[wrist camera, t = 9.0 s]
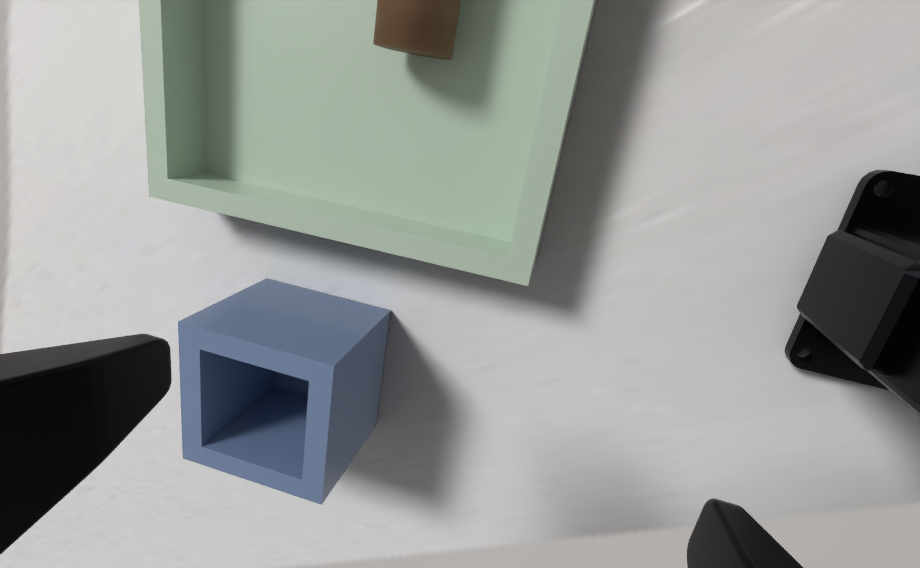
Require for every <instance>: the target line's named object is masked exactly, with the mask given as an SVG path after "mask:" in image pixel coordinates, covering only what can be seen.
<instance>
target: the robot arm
mask: <svg viewBox="0 0 920 568" xmlns="http://www.w3.org/2000/svg"><path fill="white" fill-rule="evenodd" d="M882 180H885V181H886V183H887V188H886V190H885V191H884V192H883V193H882V194H880V195H875V193H874V187H875V186H876V184H877V183H878V182H880V181H882ZM797 308H798V310H799V312H800V315H799V318H798V320H797V322H796V324H795V327H794V329H793V331H792V333H791V336H790V338H789V340H788V342H787V345H786V347H785V354H786V357H787V358H788V359H789V360H790V362H791V363H792V364H793V365H794V366H796V367H798V368H800V369H804V370H808V371H812V372H816V373H821V374H825V375H829V376H833V377H837V378H841V379H845V380H849V381H854V382H858V383H862V384H866V385H870V386H874V387H878V388H882V389H886V390H890V391H891V392H892V393H893V394H894V395H896V396H897V397H898V398H899V399H900V400H901V401H902V402H904V403H905V404H906V405H907V406H908V407H909V408H911V409H912V410H913V411H914V412H915V413H916V414H917V415H919V416H920V176H917V175H911V174H905V173H900V172H894V171H888V170H875V171H873V172H870V173H868V174H867V175H865V176H864V177H863V178H862V179H861V180H860V182H859V183H858V185H857V188H856V190H855V192H854V194H853V197H852V199H851V201H850V203H849V206H848V208H847V210H846V212H845V215H844V217H843V219H842V221H841V224H840V226H839V228H838V230H837V231H835V232H834V233H832V234H830V235H829V236H828V237H827V239H826V241H825V243H824V246H823V248H822V250H821V252H820V255H819V257H818V259H817V262H816V264H815V266H814V268H813V271H812V273H811V275H810V277H809V280H808V282H807V284H806V286H805V289H804V291H803V293H802V296H801V298H800V300H799V302H798V305H797ZM805 348H810V353H809V354H808V355H807V356H804V357H798V353H799V352H800V351H801V350H802V349H805ZM170 385H171V357H170V346H169V344H168V342H167V341H166V340H164V339H162V338H158V337H155V336H151V335H148V334H137V335H130V336H124V337H117V338H110V339H103V340H96V341H89V342H82V343H75V344H68V345H61V346H54V347H48V348H41V349H34V350H27V351H20V352H13V353H6V354H0V554H1V553H3V552H4V551H5V550H6V549H7V548H8V547H9V546H10V545H11V544H13V543H14V542H15V541H16V540H17V539H18V538H19V537H20V536H21V535H23V534H24V533H25V532H26V531H27V530H28V529H29V528H30V527H31V526H33V525H34V524H35V523H36V522H37V521H38V520H39V519H40V518H41V517H43V516H44V515H45V514H46V513H47V512H48V511H49V510H50V509H51V508H53V507H54V506H55V505H56V504H57V503H58V502H59V501H60V500H61V499H63V498H64V497H65V496H66V495H67V494H68V493H69V492H70V491H71V490H73V489H74V488H75V487H76V486H77V485H78V484H79V483H80V482H81V481H83V480H84V479H85V478H86V477H87V476H88V475H89V474H90V473H91V472H92V471H93V470H94V469H95V468H97V467H98V466H99V465H100V464H101V463H102V462H103V461H104V460H105V459H106V458H107V457H108V456H109V455H110V454H111V452H112V451H113V450H114V449H115V448H116V447H117V446H118V445H119V444H120V443H121V442H122V441H123V440H124V439H125V438H126V437H127V435H128V434H129V433H130V432H131V431H132V430H133V429H134V428H135V427H136V426H137V425H138V424H139V423H140V422H141V421H142V419H143V418H144V417H145V416H146V415H147V414H148V413H149V412H150V411H151V410H152V409H153V408H154V407H155V406H156V405H157V404H158V402H159V401H160V400H161V399H162V398H163V397H164V396H165V395H166V393H167V392H168V390H169V388H170ZM687 564H688V568H803V567H802V566H801V565H800V564H799V563H798V562H797V561H796V560H795V559H794V558H793V557H792V556H791V555H790V554H789V553H788V552H787V551H786V550H785V549H784V548H783V547H782V546H781V545H780V544H779V543H777V541H776V540H775V539H773V537H772V536H771V535H770V534H768V532H767V531H765V530H764V529H763V528H762V527H761V526H760V525H759V524H758V523H757V522H756V521H755V520H754V519H753V518H752V517H751V516H750V515H749V514H748V513H747V512H746V511H745V510H744V509H743V508H742V507H740V506H738V505H735V504H732V503H728V502H725V501H721V500H718V499H710V500H708V501H707V502H706V503H705V505H704V507H703V509H702V512H701V514H700V516H699V518H698V521H697V523H696V525H695V528H694V530H693V532H692V535H691V537H690V539H689V543H688V548H687Z"/></svg>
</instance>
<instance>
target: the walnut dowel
mask: <svg viewBox="0 0 920 568" xmlns="http://www.w3.org/2000/svg"><path fill="white" fill-rule="evenodd" d="M460 3H461V0H377V10H376V20H375V30H374V40H373V44H374V45H376V46H379V47H383V48H386V49H390V50H394V51H399V52H403V53H408V54H413V55H418V56H424V57H430V58H437V59H446V60H451V59H452V57H453V50H454V43H455V37H456V30H457V23H458V17H459V10H460Z"/></svg>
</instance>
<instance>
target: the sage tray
mask: <svg viewBox="0 0 920 568" xmlns="http://www.w3.org/2000/svg"><path fill="white" fill-rule="evenodd" d="M595 4H596V0H461V3H460V10H459V17H458V23H457V30H456V37H455V43H454V50H453V57H452V59H451V60H446V59H437V58H430V57H424V56H418V55H413V54H408V53H403V52H399V51H394V50H390V49H386V48H383V47H379V46H376V45H374V44H373V40H374V30H375V20H376V10H377V0H139V10H140V29H141V48H142V67H143V86H144V105H145V124H146V143H147V162H148V181H149V196H150V197H154V198H158V199H162V200H167V201H171V202H175V203H179V204H183V205H188V206H192V207H196V208H200V209H205V210H209V211H213V212H217V213H221V214H226V215H230V216H234V217H238V218H243V219H247V220H251V221H255V222H259V223H264V224H268V225H272V226H276V227H280V228H285V229H289V230H293V231H297V232H302V233H306V234H310V235H314V236H318V237H323V238H327V239H331V240H335V241H339V242H344V243H348V244H352V245H356V246H361V247H365V248H369V249H373V250H377V251H382V252H386V253H390V254H394V255H399V256H403V257H407V258H411V259H415V260H420V261H424V262H428V263H432V264H436V265H441V266H445V267H449V268H453V269H458V270H462V271H466V272H470V273H474V274H479V275H483V276H487V277H491V278H495V279H500V280H504V281H508V282H512V283H517V284H521V285H525V286H528V284H529V281H530V278H531V275H532V272H533V269H534V266H535V263H536V258H537V254H538V250H539V245H540V241H541V237H542V233H543V228H544V224H545V220H546V215H547V211H548V207H549V202H550V198H551V194H552V189H553V185H554V181H555V177H556V172H557V168H558V164H559V159H560V155H561V151H562V146H563V142H564V138H565V134H566V129H567V125H568V121H569V116H570V112H571V108H572V103H573V99H574V95H575V90H576V86H577V82H578V78H579V73H580V69H581V65H582V60H583V56H584V52H585V47H586V43H587V39H588V34H589V30H590V26H591V22H592V17H593V13H594V9H595Z"/></svg>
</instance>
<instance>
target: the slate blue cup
mask: <svg viewBox="0 0 920 568" xmlns="http://www.w3.org/2000/svg"><path fill="white" fill-rule="evenodd" d="M390 313H391V310H387V309H383V308H380V307H376V306H372V305H368V304H364V303H360V302H356V301H352V300H348V299H345V298H341V297H337V296H333V295H329V294H325V293H321V292H317V291H313V290H310V289H306V288H302V287H298V286H294V285H290V284H286V283H282V282H278V281H275V280H271V279H267V278H266V279H264V280H262V281H260V282H258V283H256V284H254V285H252V286H250V287H248V288H246V289H244V290H242V291H240V292H238V293H236V294H234V295H232V296H230V297H228V298H226V299H224V300H222V301H220V302H218V303H215V304H213V305H211V306H209V307H207V308H205V309H203V310H201V311H199V312H197V313H195V314H193V315H191V316H189V317H187V318H185V319H183V320H181V321H179V322H178V333H179V361H180V389H181V417H182V446H183V458H184V459H187V460H190V461H193V462H196V463H199V464H202V465H205V466H208V467H211V468H214V469H217V470H220V471H223V472H226V473H229V474H232V475H235V476H238V477H241V478H244V479H247V480H250V481H253V482H256V483H259V484H262V485H265V486H268V487H271V488H273V489H276V490H279V491H282V492H285V493H288V494H291V495H294V496H297V497H300V498H303V499H306V500H309V501H312V502H315V503H318V504H321V505H322V503H323V502H324V500H325V499H326V497H327V496H328V495H329V493H330V492H331V490H332V489H333V487H334V486H335V484H336V483H337V481H338V480H339V478H340V477H341V476H342V474H343V473H344V471H345V470H346V468H347V467H348V465H349V464H350V462H351V461H352V459H353V458H354V457H355V455H356V454H357V452H358V451H359V449H360V448H361V446H362V445H363V443H364V442H365V440H366V439H367V437H368V436H369V435H370V433H371V432H372V430H373V429H374V427H375V426H376V421H377V413H378V406H379V398H380V390H381V382H382V375H383V367H384V359H385V351H386V344H387V336H388V328H389V320H390Z"/></svg>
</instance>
